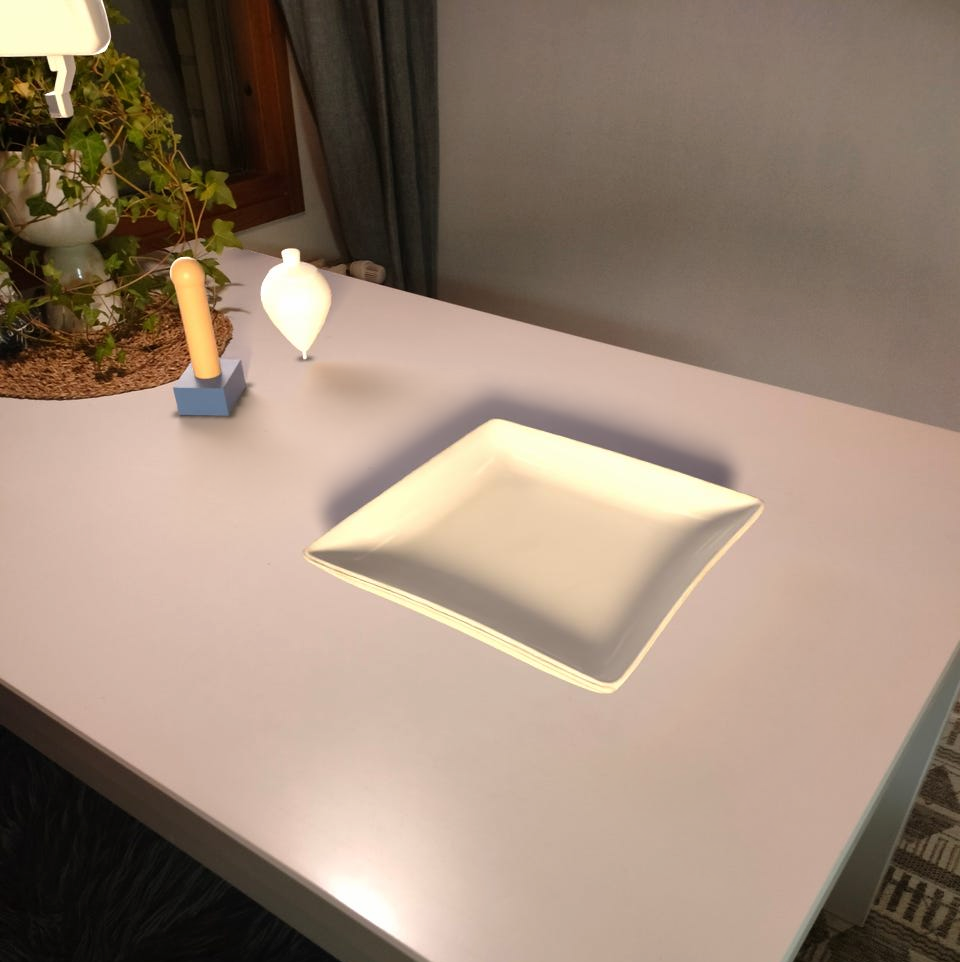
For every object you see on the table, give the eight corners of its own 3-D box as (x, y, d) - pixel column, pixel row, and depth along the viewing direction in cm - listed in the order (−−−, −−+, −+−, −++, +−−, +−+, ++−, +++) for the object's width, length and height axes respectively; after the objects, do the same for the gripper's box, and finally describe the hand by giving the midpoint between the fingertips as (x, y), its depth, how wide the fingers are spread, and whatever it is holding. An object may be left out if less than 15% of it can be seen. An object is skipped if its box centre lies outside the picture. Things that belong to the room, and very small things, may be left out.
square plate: (300, 590, 71) (293, 549, 69) (494, 448, 89) (494, 411, 86) (608, 729, 60) (613, 685, 57) (762, 534, 77) (772, 494, 74)
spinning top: (342, 369, 103) (330, 258, 95) (273, 376, 102) (255, 264, 94) (334, 342, 109) (322, 236, 101) (269, 349, 107) (252, 242, 99)
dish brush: (179, 415, 94) (144, 270, 85) (199, 384, 100) (169, 245, 90) (228, 415, 94) (200, 270, 85) (246, 385, 100) (220, 246, 90)
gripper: (-203, -80, 70) (-126, 125, 78) (61, -87, 69) (110, 121, 78) (-155, -80, 75) (-88, 113, 83) (91, -86, 74) (134, 109, 83)
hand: (10, 117), depth 81 cm, fingers open, 8 cm apart
